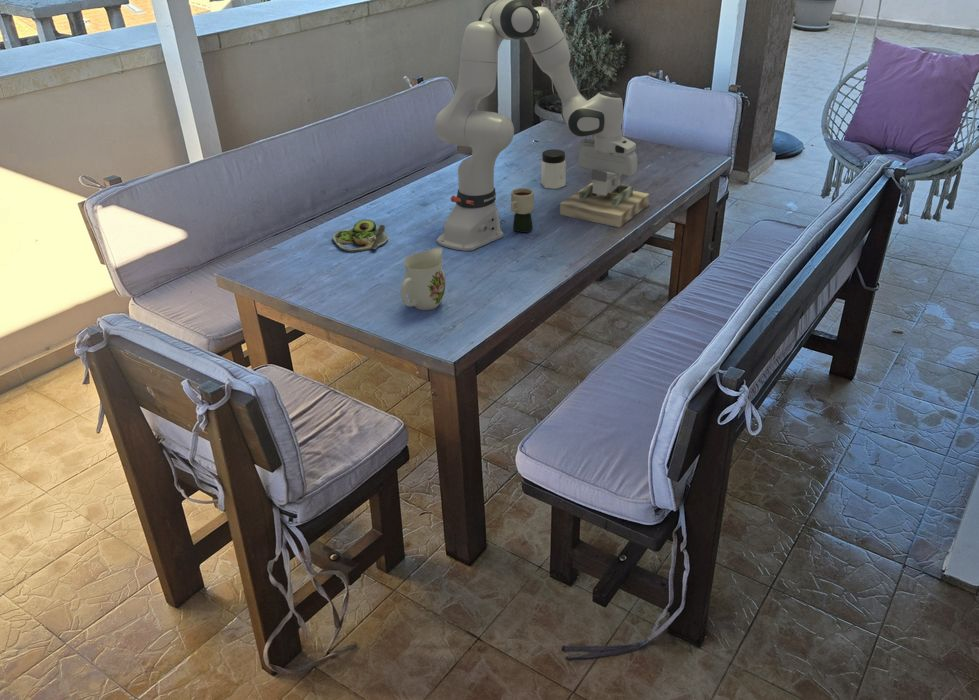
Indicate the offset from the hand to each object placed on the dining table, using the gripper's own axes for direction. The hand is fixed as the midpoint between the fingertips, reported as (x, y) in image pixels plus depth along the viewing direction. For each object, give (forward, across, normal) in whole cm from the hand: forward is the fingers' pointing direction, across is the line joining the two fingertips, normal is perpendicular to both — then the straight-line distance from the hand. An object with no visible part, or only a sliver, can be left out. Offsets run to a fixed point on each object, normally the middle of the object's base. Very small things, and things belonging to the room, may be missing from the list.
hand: (606, 183), depth 280 cm
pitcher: (+10, -11, -85) cm, 87 cm away
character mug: (+9, -15, -28) cm, 33 cm away
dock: (+9, 0, 0) cm, 9 cm away
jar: (+9, -27, +12) cm, 31 cm away
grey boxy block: (+4, 0, 0) cm, 4 cm away
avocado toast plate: (+10, -56, -60) cm, 83 cm away
